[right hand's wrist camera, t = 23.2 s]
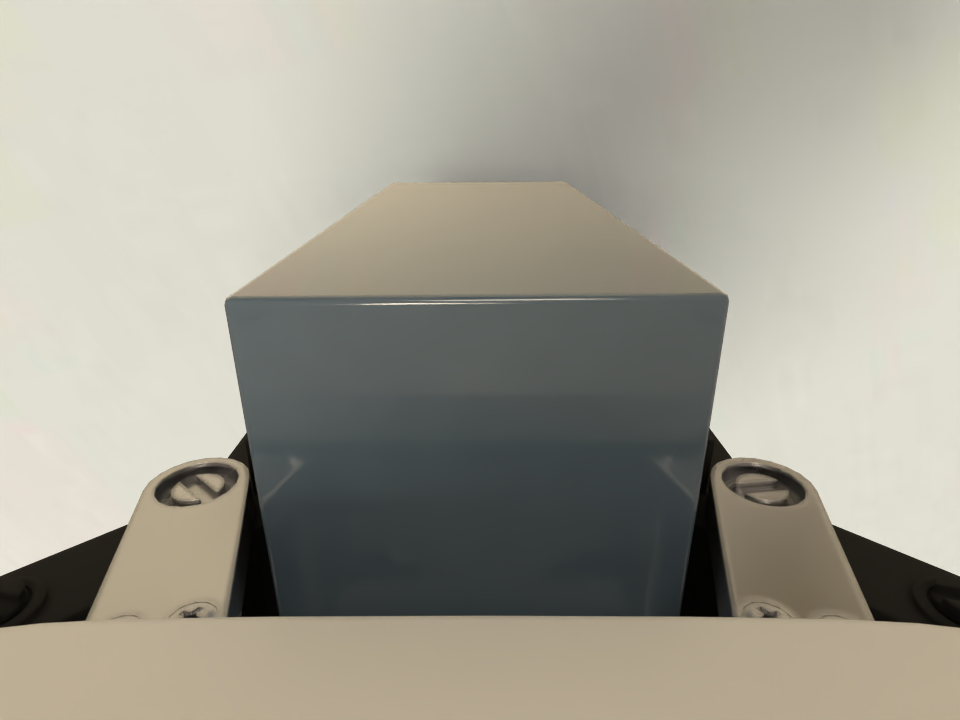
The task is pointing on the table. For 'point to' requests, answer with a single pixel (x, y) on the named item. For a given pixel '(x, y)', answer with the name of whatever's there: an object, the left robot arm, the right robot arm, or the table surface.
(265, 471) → the brick
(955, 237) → the table surface
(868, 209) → the table surface
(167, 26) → the table surface
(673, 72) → the table surface
